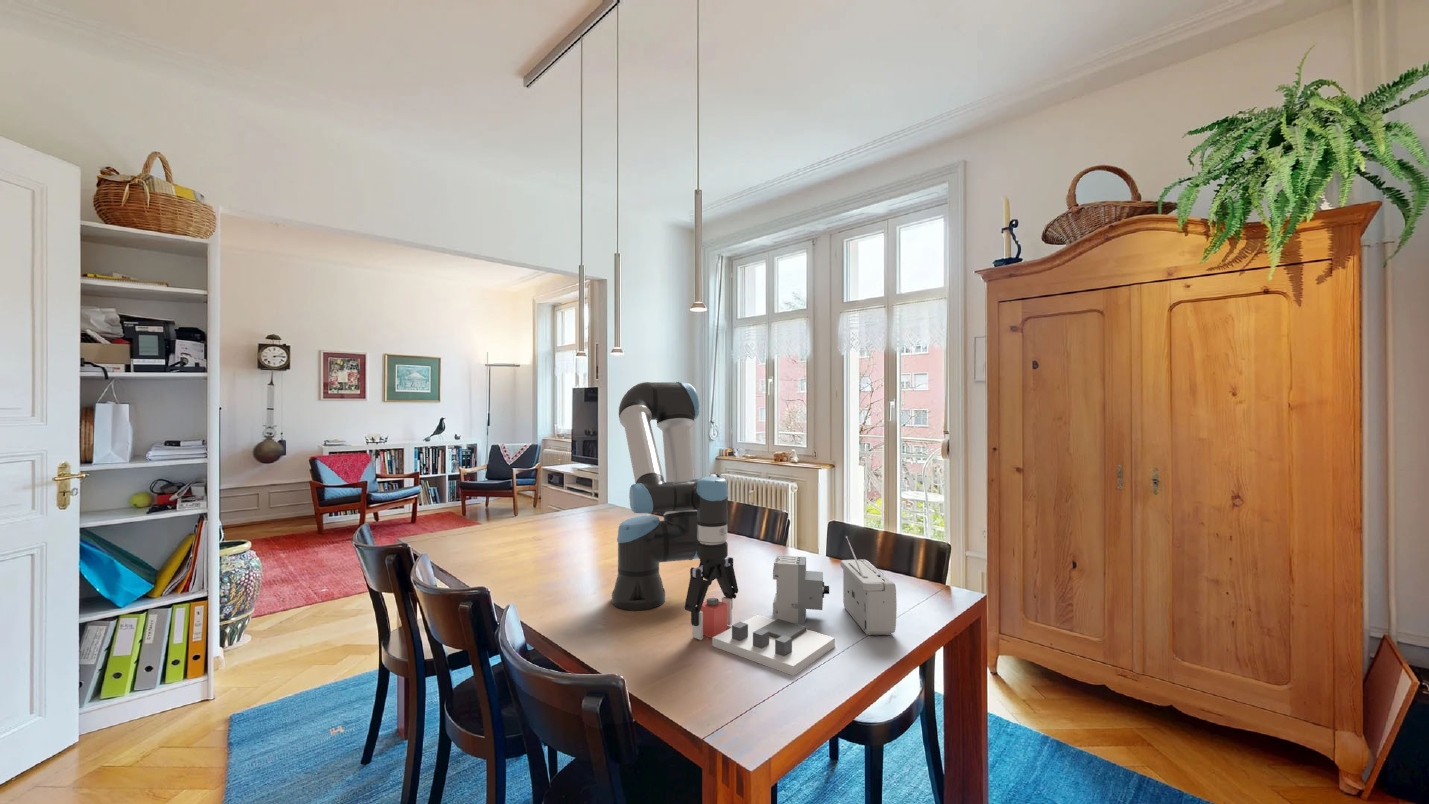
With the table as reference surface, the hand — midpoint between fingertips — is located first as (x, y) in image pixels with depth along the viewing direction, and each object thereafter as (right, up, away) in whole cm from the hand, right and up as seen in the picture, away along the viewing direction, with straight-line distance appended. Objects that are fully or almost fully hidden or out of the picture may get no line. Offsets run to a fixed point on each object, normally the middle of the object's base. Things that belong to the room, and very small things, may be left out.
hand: (712, 630), depth 139 cm
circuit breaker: (+23, 0, +9) cm, 25 cm away
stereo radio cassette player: (+40, -1, +7) cm, 40 cm away
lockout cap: (0, 0, 0) cm, 0 cm away
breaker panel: (+14, 0, -8) cm, 16 cm away
